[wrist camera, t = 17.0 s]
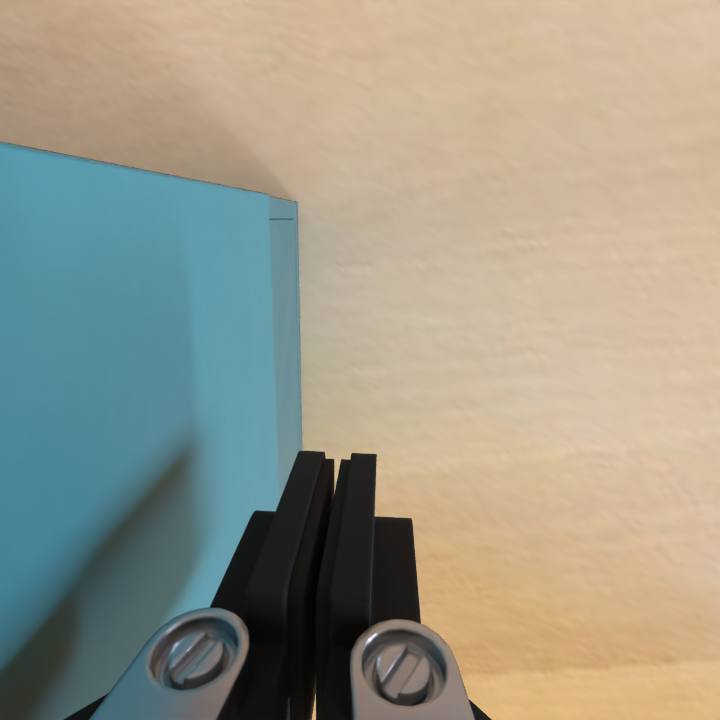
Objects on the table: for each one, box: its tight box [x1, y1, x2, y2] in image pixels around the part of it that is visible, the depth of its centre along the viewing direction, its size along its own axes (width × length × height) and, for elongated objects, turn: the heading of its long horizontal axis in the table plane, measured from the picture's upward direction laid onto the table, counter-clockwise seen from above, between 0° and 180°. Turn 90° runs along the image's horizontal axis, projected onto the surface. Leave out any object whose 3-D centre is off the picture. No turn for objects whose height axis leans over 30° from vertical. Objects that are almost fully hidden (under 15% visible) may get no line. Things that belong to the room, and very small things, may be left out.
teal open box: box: [268, 196, 302, 499], centre depth 21 cm, size 15×14×7 cm
